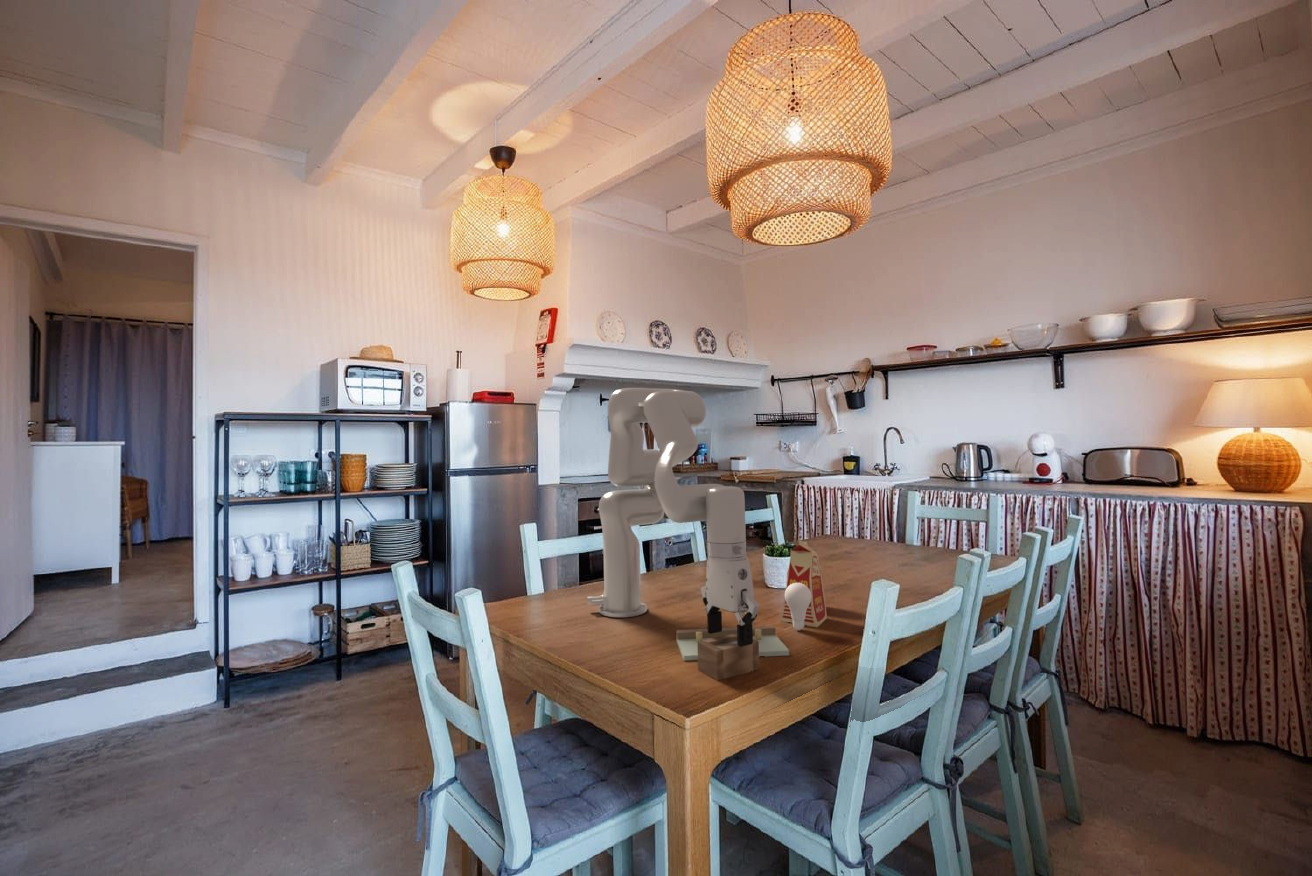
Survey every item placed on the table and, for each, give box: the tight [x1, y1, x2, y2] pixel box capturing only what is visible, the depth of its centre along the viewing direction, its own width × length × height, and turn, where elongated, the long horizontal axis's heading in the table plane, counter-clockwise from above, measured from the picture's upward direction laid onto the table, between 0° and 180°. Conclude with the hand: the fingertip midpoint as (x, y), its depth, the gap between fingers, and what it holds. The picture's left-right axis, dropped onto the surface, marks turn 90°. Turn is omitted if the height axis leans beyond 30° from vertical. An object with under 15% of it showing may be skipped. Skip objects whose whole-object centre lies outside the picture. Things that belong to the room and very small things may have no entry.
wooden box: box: [697, 633, 760, 682], centre depth 122 cm, size 10×6×6 cm, turn 120°
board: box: [675, 625, 790, 662], centre depth 134 cm, size 22×12×3 cm, turn 95°
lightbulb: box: [784, 583, 812, 631], centre depth 145 cm, size 6×6×11 cm
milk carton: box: [780, 539, 828, 628], centre depth 153 cm, size 9×9×20 cm
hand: (729, 638), depth 121 cm, fingers open, 9 cm apart
